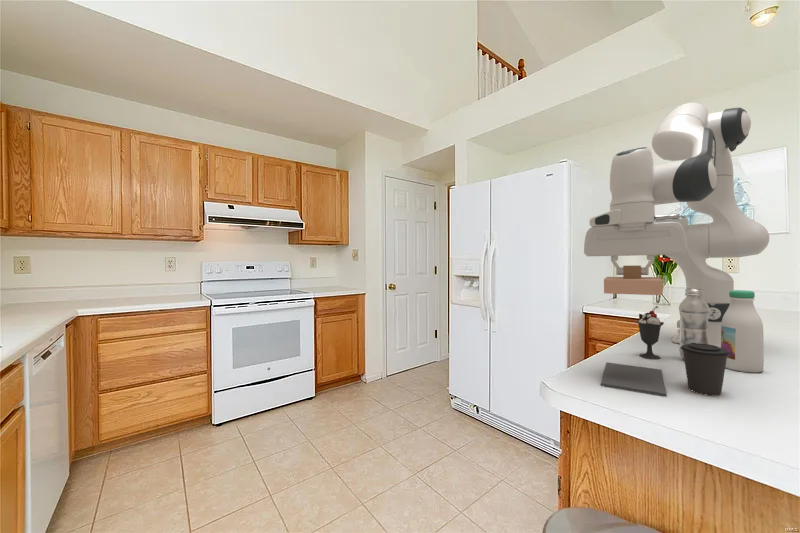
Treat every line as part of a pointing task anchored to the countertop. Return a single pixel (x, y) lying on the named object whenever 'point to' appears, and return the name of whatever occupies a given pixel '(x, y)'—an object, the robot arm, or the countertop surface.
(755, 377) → the countertop surface
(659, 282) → the cover
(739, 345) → the milk bottle
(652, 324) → the sundae
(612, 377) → the mat
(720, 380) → the coffee cup
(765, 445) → the countertop surface
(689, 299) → the plastic bottle
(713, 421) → the countertop surface
